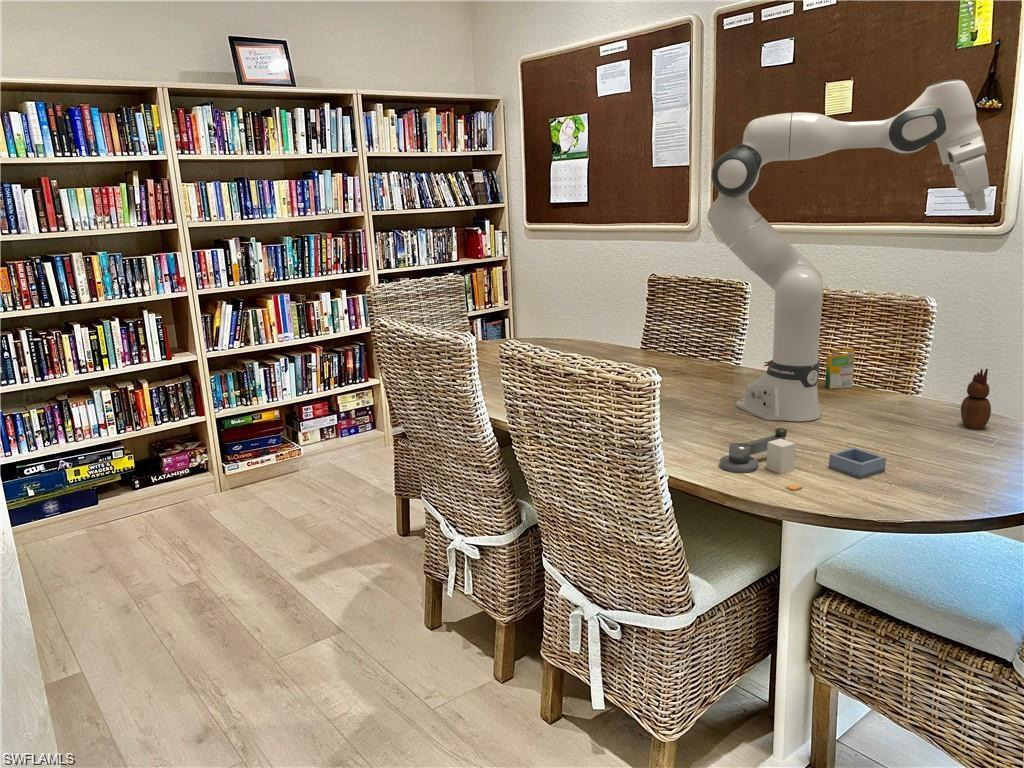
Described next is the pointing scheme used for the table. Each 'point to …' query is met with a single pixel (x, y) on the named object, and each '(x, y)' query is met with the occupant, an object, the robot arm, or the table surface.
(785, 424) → the table surface
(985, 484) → the table surface
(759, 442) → the crank arm
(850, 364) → the crayon box
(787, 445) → the cream block
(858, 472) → the tray
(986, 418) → the wooden figurine
